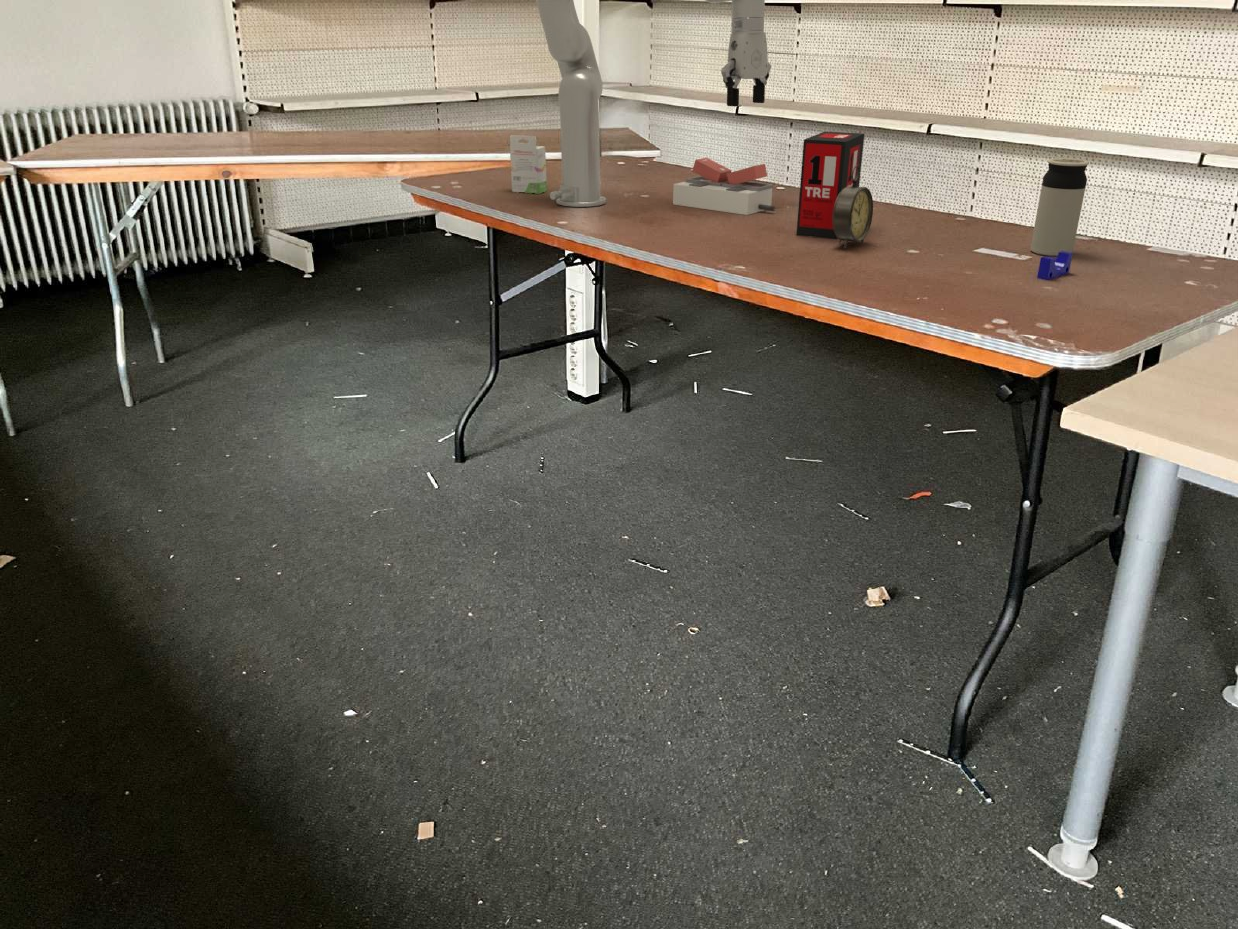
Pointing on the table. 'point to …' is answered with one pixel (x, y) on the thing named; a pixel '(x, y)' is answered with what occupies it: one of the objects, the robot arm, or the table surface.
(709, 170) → the rocker
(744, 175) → the block
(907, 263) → the table surface
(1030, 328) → the table surface
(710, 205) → the power strip
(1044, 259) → the cable holder
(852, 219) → the alarm clock
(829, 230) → the cleaning product box
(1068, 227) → the travel mug
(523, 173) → the ink box
